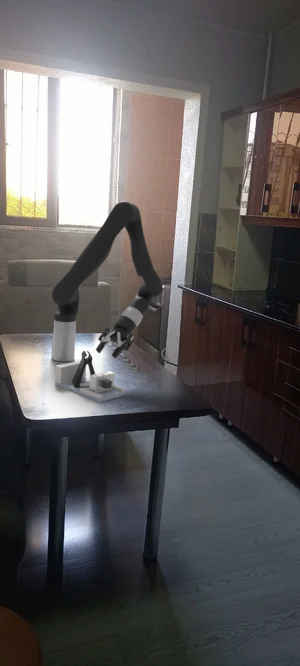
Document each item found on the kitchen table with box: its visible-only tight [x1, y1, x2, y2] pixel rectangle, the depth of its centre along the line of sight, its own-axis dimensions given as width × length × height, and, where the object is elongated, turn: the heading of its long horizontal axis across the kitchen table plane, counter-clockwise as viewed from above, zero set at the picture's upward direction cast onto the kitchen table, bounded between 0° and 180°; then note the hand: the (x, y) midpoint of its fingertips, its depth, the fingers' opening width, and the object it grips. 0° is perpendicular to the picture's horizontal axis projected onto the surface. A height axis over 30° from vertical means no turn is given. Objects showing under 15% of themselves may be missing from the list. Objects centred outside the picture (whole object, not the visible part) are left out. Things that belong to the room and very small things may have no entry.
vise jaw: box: [89, 370, 116, 394], centre depth 177 cm, size 5×9×6 cm, turn 139°
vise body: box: [54, 360, 126, 403], centre depth 181 cm, size 24×12×7 cm, turn 49°
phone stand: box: [72, 350, 96, 388], centre depth 182 cm, size 9×6×12 cm, turn 105°
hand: (105, 354), depth 188 cm, fingers open, 8 cm apart
